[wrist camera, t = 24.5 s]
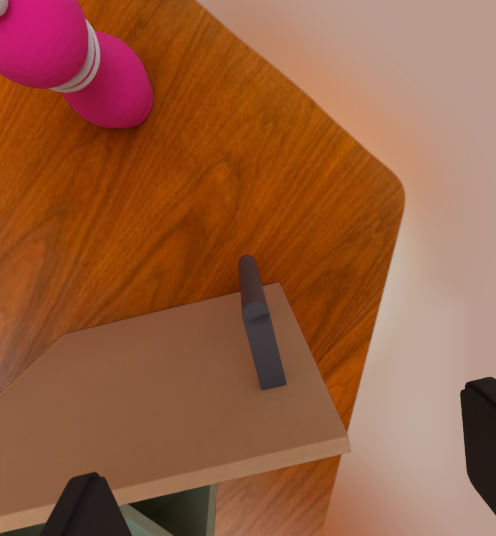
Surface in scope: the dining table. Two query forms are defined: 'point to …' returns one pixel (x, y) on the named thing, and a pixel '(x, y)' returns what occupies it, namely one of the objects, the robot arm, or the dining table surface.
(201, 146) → the dining table surface
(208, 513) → the cupboard
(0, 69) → the pepper mill
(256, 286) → the cupboard door
